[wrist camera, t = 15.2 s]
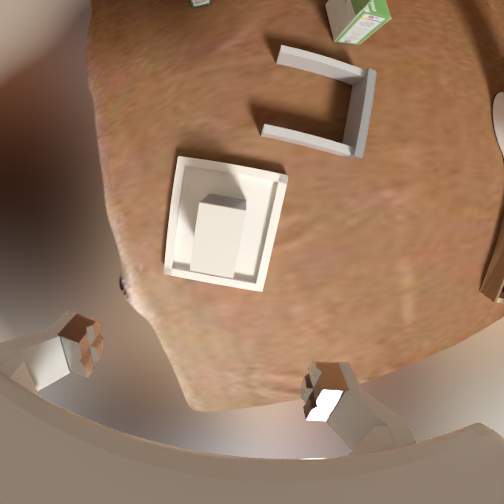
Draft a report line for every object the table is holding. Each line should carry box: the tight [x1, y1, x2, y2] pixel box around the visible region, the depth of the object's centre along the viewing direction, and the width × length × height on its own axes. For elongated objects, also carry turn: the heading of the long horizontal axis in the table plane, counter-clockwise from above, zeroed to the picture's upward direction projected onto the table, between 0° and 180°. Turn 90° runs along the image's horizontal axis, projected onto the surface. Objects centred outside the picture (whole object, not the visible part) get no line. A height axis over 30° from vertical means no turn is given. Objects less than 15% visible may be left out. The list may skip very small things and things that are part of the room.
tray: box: [164, 156, 288, 292], centre depth 33 cm, size 13×15×2 cm
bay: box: [261, 45, 377, 158], centre depth 26 cm, size 11×11×5 cm
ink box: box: [325, 0, 391, 45], centre depth 18 cm, size 7×4×13 cm, turn 5°
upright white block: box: [190, 194, 246, 278], centre depth 30 cm, size 4×7×7 cm, turn 169°
